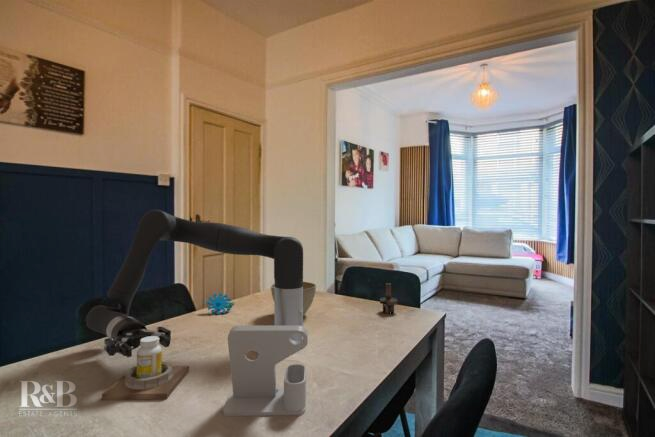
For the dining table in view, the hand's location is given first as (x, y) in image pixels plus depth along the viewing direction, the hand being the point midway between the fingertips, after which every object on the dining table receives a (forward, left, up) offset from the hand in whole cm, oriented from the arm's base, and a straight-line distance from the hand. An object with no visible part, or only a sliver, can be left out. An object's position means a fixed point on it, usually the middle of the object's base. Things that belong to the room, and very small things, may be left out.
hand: (149, 347), depth 84 cm
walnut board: (0, 0, -9) cm, 9 cm away
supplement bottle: (0, 0, -8) cm, 8 cm away
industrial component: (-70, -61, -9) cm, 93 cm away
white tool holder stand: (-29, +9, -9) cm, 32 cm away
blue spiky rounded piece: (-1, -62, -9) cm, 62 cm away
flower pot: (-31, -57, -9) cm, 66 cm away
